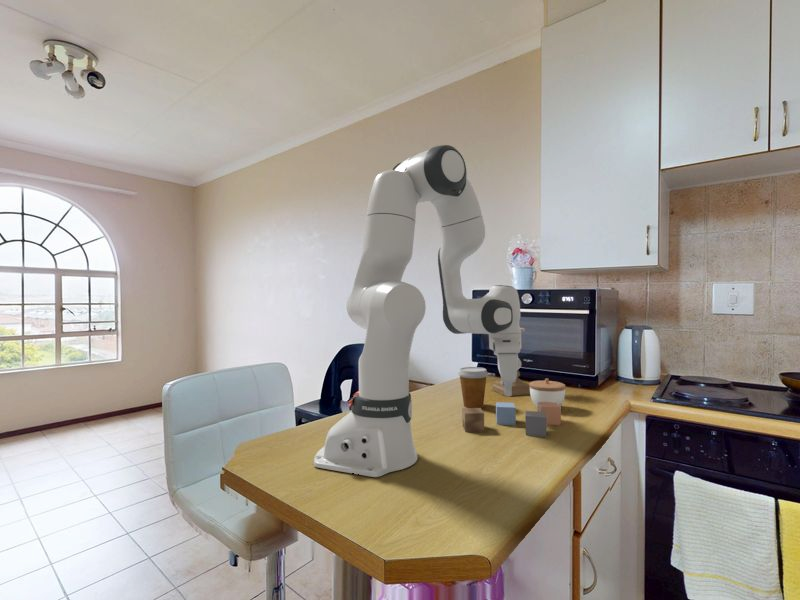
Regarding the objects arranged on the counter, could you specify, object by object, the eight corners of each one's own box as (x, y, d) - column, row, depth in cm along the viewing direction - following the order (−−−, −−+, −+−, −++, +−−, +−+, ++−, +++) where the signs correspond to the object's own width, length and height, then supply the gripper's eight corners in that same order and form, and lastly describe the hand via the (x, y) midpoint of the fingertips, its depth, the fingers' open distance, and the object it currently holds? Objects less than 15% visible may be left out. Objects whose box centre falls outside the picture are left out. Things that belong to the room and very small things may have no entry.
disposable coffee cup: (478, 400, 133) (478, 365, 133) (494, 408, 124) (493, 370, 124) (453, 403, 130) (453, 367, 130) (467, 411, 121) (466, 372, 121)
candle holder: (505, 396, 138) (504, 329, 139) (491, 389, 149) (490, 327, 149) (533, 394, 141) (532, 328, 141) (517, 387, 152) (516, 326, 152)
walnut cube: (465, 432, 102) (464, 413, 102) (462, 426, 107) (462, 408, 107) (484, 432, 102) (484, 413, 102) (480, 426, 107) (480, 407, 107)
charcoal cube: (525, 435, 99) (525, 415, 99) (526, 429, 104) (525, 410, 104) (546, 437, 97) (546, 417, 97) (545, 431, 102) (545, 412, 102)
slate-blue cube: (497, 424, 108) (496, 406, 108) (496, 419, 113) (495, 402, 113) (515, 425, 107) (515, 407, 107) (513, 420, 112) (513, 402, 112)
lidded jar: (572, 409, 121) (572, 379, 121) (552, 415, 115) (551, 383, 115) (543, 402, 130) (542, 374, 130) (522, 407, 124) (522, 378, 124)
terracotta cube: (542, 424, 107) (541, 406, 107) (537, 419, 112) (537, 402, 112) (561, 425, 107) (560, 406, 107) (555, 419, 112) (555, 402, 112)
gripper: (492, 338, 121) (493, 383, 121) (495, 347, 101) (497, 400, 101) (513, 338, 119) (514, 383, 120) (520, 347, 99) (522, 401, 99)
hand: (506, 391), depth 110 cm, fingers open, 8 cm apart
